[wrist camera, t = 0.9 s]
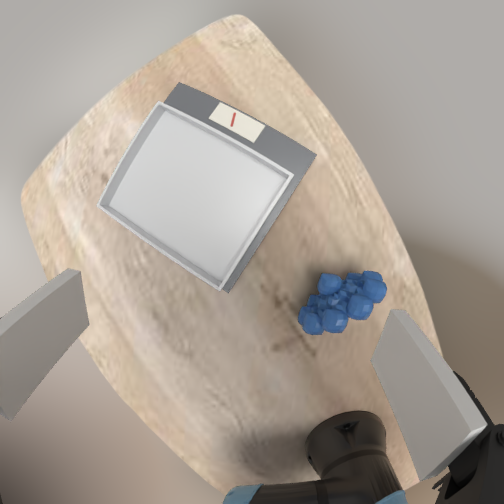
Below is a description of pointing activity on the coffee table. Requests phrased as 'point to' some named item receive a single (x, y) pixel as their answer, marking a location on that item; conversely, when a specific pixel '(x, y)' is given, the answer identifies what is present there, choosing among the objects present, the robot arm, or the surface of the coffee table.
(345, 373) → the coffee table surface
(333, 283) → the grapes
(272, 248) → the coffee table surface
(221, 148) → the scale
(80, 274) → the robot arm
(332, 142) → the coffee table surface
